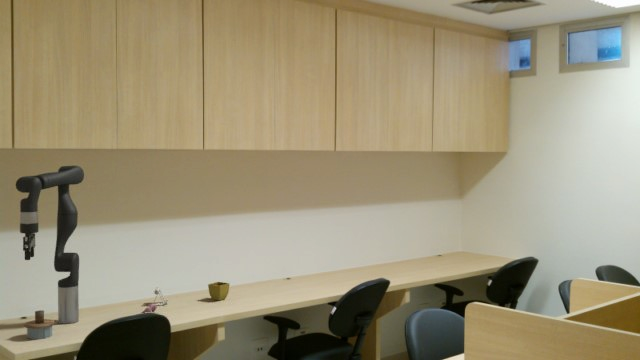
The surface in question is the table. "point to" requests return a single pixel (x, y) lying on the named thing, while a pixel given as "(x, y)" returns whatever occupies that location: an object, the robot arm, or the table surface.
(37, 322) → the lid
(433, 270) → the table surface
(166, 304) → the portable electronic device stand
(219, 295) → the flower pot
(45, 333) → the bowl
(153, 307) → the video game controller
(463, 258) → the table surface
